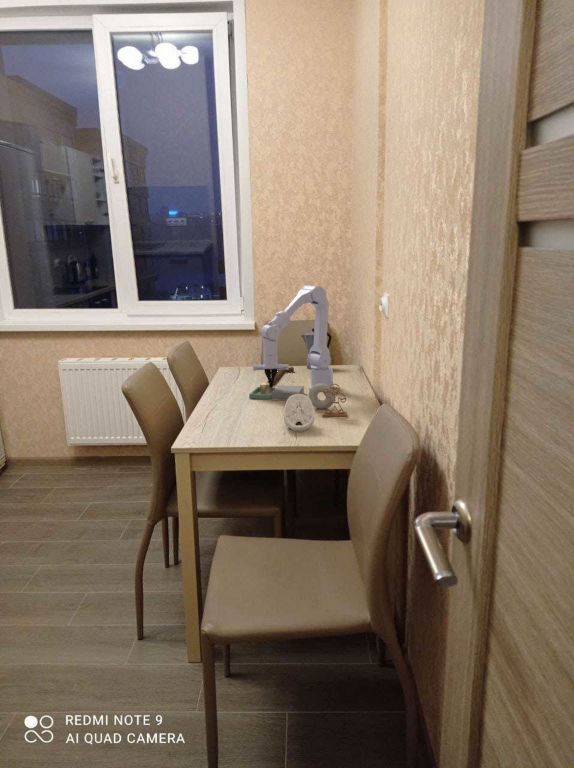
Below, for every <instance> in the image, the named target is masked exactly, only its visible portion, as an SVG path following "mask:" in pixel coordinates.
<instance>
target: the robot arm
mask: <svg viewBox="0 0 574 768" xmlns="http://www.w3.org/2000/svg"><path fill="white" fill-rule="evenodd" d="M309 303H310V304H311V305H312V306H313V307H314V308H315V312H314V315H315V316H314V327H313V328H314V344H313V346H312V347H311V348H310V353H309V355H308V354H307V356H308V362H309V363H310V364H311V369H310V385H309V388H308V389H309V390H310V389H311V388H312V387H313V386H314V385H316V384H320V383H323V384H327V385H329V386H331V385H332V384H334V370H333V369H334V368H332V367H329V366H330V365H331V362H332V358H331V354H330V350H329V349H328V348H327V342H328V339H327V337H328V336H327V332H328V324H329V323H328V321H329V307H330V304H329V299H328V298H327V291H326V289H325V288H324V287H322V286H320V285H309V284H305V285H303V287H301V289H299V290H298V292H297V294H296V296H295V297H294V298H293V299H292V301H291V302H290V303H289V305H287V307H285V309H284V310H280V311H279V312H278V311H277V312H276V313H275V316H273V318H272V319H271V320H269V321H268V322H267V324H264V325H263V326H262V327H261V330H260V331H259V334H260V336H261V338H262V344H263V345H262V351H263V352H262V353H263V364H253V365H252V371H264V374H265V376H266V378H267V382H268V381H269V385H270V388H273V387H274V385H273V382H274V379H275V376H276V374H277V370H289V368H290V367H289V364H288V363H287V364H283V363H278V362H279V361H278V360H279V359H278V357H279V356H278V339H279V337H280V335H281V332H282V330H283V329H284V328H285V327H286V326H287V325H288V324H289V323H290V322H291V316H292V315H294V314H295V312H297V311H298V310H299V308H300V309H301V307H302V306H303V305H304V304H309ZM332 387H334V385H332V386H331V388H332Z"/></svg>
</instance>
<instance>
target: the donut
mask: <svg viewBox="0 0 574 768" xmlns="http://www.w3.org/2000/svg"><path fill="white" fill-rule="evenodd" d="M324 389H328V390H329V392H330V390H331V391H332V390H333V391H334V389H330V386H329V385H327V384H323V383H320V384H316V385H314V386H313V387H312V388H311V389H309V392H308V397H309V398H310V400H311V402H312V405H313V407H314V408H316V409H319V410H325V409H326V410H327V408H328V406H329V405H330V398H327V397H331V402H334V396H332V394H329V393H325V395H326V396H327V397H326V396H325V395H324V396H325V398H324V399H323V400H321V399H319V397H318V395H319V394H320V393H323V391H324V392H325V391H326V392H327V391H328V390H324ZM333 391H332V392H333ZM330 393H331V392H330ZM333 394H334V392H333ZM332 405H334V404H333V403H331V405H330V406H329V408H330V407H331V406H332ZM329 408H328V409H329Z"/></svg>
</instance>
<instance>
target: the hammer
mask: <svg viewBox="0 0 574 768" xmlns="http://www.w3.org/2000/svg"><path fill="white" fill-rule="evenodd" d="M277 371H278V372H277V374H276V376H275V379H274V382H273V386H274V385H275V384H276V383H277V382H278V381H279V379H280V378H281V376H283V374H285V373H284V372H286V373H291V372H293V373H294V371H295V369H294V366H290V367H289V370H277ZM266 383H269V381H268V380H267V382H266Z"/></svg>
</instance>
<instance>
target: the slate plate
mask: <svg viewBox="0 0 574 768" xmlns="http://www.w3.org/2000/svg"><path fill="white" fill-rule="evenodd" d="M304 393H305V387H304V385H280V384H279V385H277V386H276V388H275V389H274V390H273V391H272V392H271V397H272V399H271V400H272V401H287V400H288V398H289V397H290V396H292V395H294V394H303V395H305V394H304Z"/></svg>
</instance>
